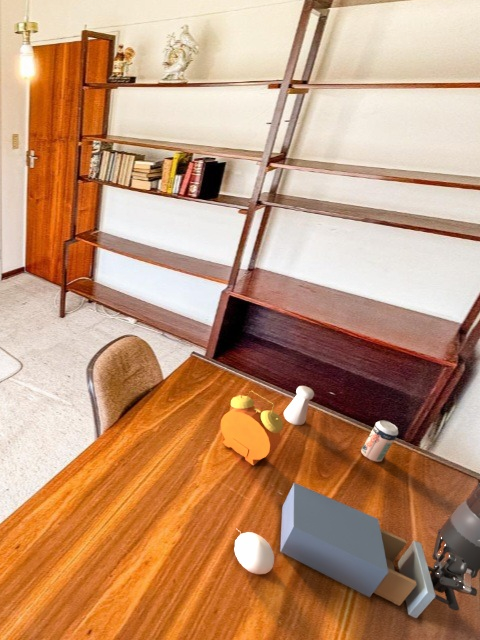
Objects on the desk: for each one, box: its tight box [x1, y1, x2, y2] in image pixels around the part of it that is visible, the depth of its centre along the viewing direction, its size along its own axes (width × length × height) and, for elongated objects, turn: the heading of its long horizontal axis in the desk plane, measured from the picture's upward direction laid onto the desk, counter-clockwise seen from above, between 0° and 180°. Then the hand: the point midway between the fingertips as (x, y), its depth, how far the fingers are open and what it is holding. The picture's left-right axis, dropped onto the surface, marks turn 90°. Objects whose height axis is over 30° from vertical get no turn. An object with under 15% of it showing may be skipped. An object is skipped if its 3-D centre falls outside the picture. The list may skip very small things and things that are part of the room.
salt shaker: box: [283, 385, 315, 426], centre depth 120 cm, size 6×6×13 cm
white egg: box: [233, 529, 275, 575], centre depth 84 cm, size 10×7×7 cm
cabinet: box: [279, 482, 388, 598], centre depth 86 cm, size 16×13×10 cm
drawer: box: [373, 528, 460, 619], centre depth 81 cm, size 19×11×8 cm, turn 57°
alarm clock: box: [220, 390, 284, 466], centre depth 107 cm, size 13×6×20 cm, turn 34°
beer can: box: [360, 420, 399, 463], centre depth 109 cm, size 5×5×12 cm
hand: (433, 586), depth 78 cm, fingers closed
